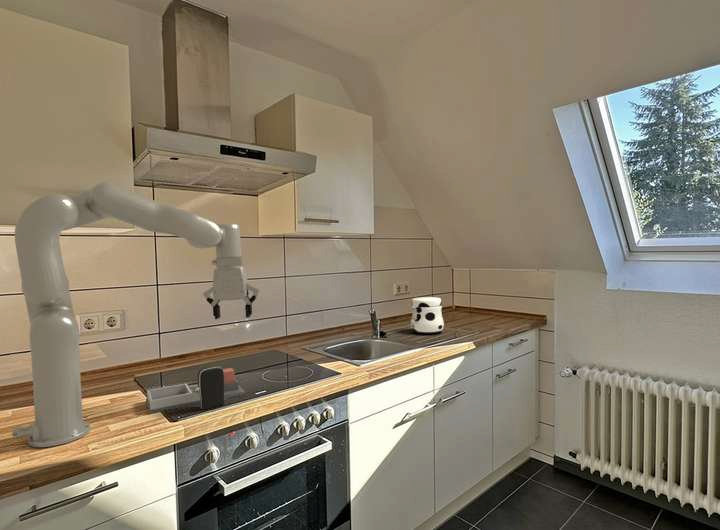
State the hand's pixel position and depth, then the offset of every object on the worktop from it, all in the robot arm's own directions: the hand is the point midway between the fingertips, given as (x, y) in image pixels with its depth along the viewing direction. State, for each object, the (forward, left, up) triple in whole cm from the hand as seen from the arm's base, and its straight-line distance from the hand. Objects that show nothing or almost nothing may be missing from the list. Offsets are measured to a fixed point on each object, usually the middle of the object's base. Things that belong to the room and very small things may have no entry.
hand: (233, 317), depth 129 cm
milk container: (+110, +37, -25) cm, 119 cm away
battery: (-9, -6, -25) cm, 27 cm away
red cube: (-2, +4, -21) cm, 22 cm away
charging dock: (-11, +4, -24) cm, 27 cm away
